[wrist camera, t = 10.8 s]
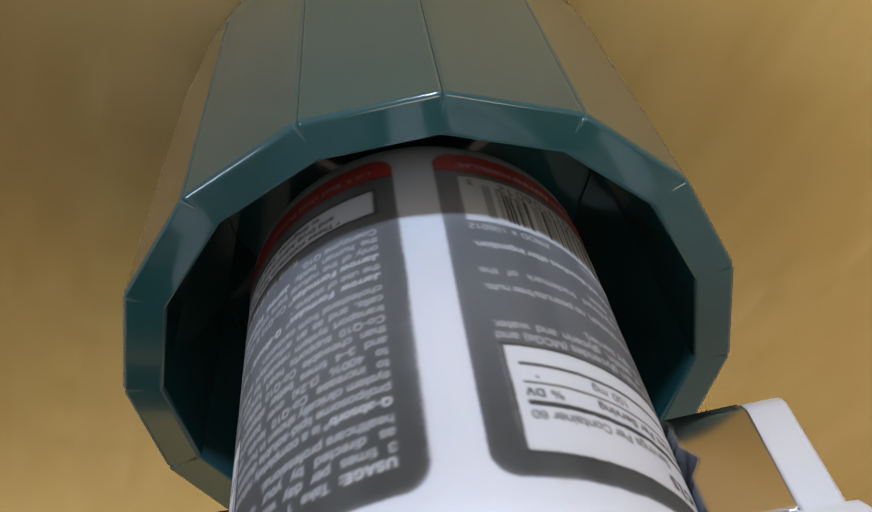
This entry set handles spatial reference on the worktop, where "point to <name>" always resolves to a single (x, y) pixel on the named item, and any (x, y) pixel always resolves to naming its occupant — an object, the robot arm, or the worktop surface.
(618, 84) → the holder
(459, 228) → the pill bottle
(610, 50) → the worktop surface
